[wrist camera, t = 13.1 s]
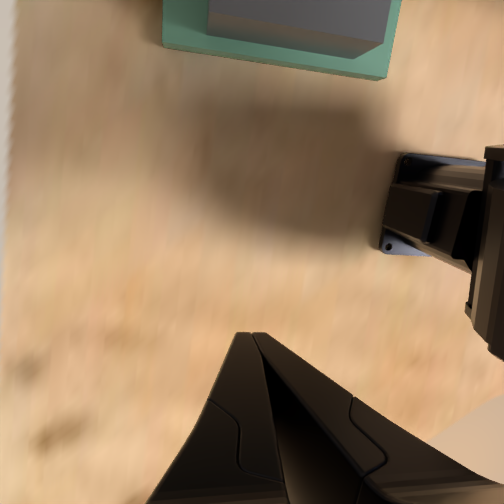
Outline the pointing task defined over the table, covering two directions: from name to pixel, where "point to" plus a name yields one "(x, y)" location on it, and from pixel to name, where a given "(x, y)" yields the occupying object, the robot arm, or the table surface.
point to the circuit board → (195, 40)
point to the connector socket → (303, 24)
